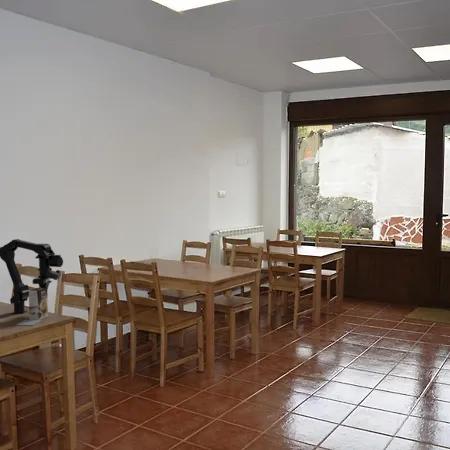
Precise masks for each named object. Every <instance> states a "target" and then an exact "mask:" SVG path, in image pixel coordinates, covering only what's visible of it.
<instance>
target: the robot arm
mask: <svg viewBox="0 0 450 450" xmlns="http://www.w3.org/2000/svg"><path fill="white" fill-rule="evenodd" d="M18 248H20V249H24V250H29V251H32V252H34V253H35V254H37V255H36V256H35V257H34V258H35V259H38V268H37V271H38V273H39V275H37V277H35V278H33V279H32V285H38V286H39V288H47V291H48V290H49V285H50V284H51V283H53V280H54V281H58V280H59V279H60V278H61V277H62V273H61V270H60V269H56V271H55V270H53V269H52V268H61V267H62V266H63V265H64V259H63V257H62V256H61V254H56V253H55V252H54V250H53V249H52V246H51V244H49V243H34V242H32V241H27V240H22V239H19V238H17V239H12V240H11V241H10V242H8V243H6V244H4V245H3V246H0V259H1V260H2V261H3V262H5V265H6V269H7V271H8V274H9V276H10V279H11V282H12V284H13V290H12V292H13V295H12V296H11V298H10V299H9V302H10V304H13V311H12V312H11V314H24V313H26V312H28V310H25V309H26V307H25V302H27V301H29V290H30V288H29V285H28V284H25V283H24V282H23V280H22V277H21V275H20V272H19V270H18V267H17V263H16V262H15V256H16V253H15V252H16V251H17V250H18ZM51 279H52V280H51Z"/></svg>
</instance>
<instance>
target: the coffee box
mask: <svg viewBox="0 0 450 450" xmlns="http://www.w3.org/2000/svg"><path fill="white" fill-rule="evenodd" d="M48 301H49V300H48V290H47V288H40V287H35V288H33V289H29V297H28V313H29V314H28V315H29V316H28V317H29V318H28V320H43V319H45V318H47V317H49V303H48Z"/></svg>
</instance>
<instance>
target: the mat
mask: <svg viewBox="0 0 450 450" xmlns="http://www.w3.org/2000/svg"><path fill="white" fill-rule="evenodd" d="M42 321H43V319H41V320H30V319H24V320H22V321H20V322H18V323H16V324H15V325H16V326H18V327H22V326H24V327H33V326H36V325H37V324H38V323H39V324H40V323H41V322H42Z"/></svg>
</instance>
